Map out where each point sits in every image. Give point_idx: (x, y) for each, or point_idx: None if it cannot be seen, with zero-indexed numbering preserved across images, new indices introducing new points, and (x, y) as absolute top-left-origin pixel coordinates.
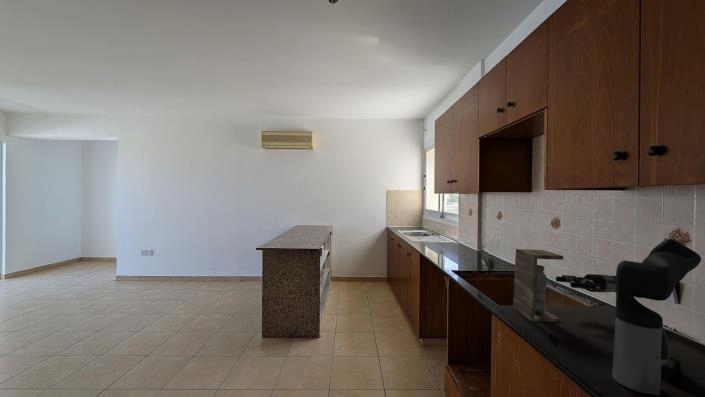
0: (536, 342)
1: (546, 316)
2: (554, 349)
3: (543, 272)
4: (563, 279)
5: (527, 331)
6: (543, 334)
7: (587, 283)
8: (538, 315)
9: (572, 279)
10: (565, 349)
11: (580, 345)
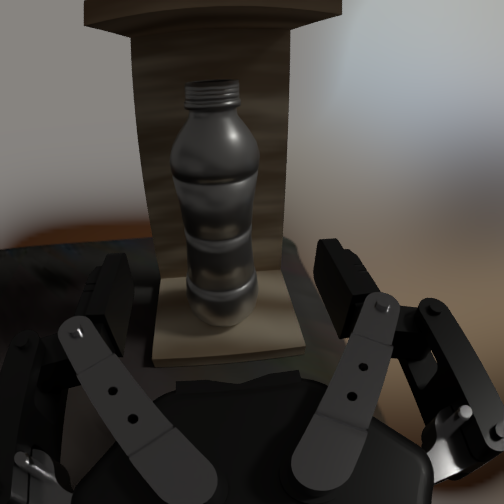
0: (58, 246)
1: (175, 320)
2: (28, 260)
3: (194, 120)
4: (338, 304)
5: (102, 249)
6: (79, 271)
7: (112, 447)
8: (185, 300)
9: (430, 421)
10: (18, 276)
11: (13, 314)
